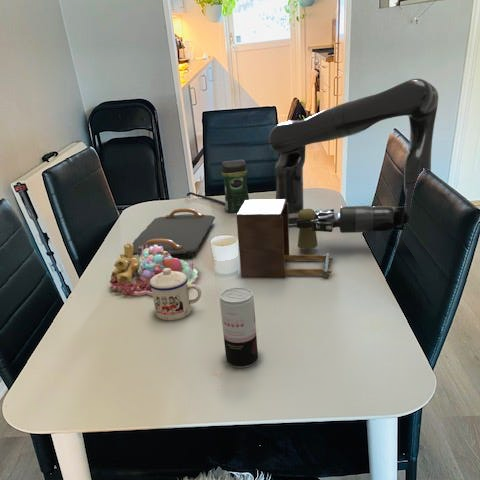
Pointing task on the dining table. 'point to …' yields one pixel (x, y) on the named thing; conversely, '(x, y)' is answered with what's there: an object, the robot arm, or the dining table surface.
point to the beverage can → (239, 326)
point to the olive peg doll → (307, 231)
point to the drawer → (308, 258)
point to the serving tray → (175, 232)
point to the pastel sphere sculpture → (146, 269)
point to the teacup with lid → (172, 294)
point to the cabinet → (263, 238)
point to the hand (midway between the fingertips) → (298, 220)
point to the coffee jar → (235, 184)
